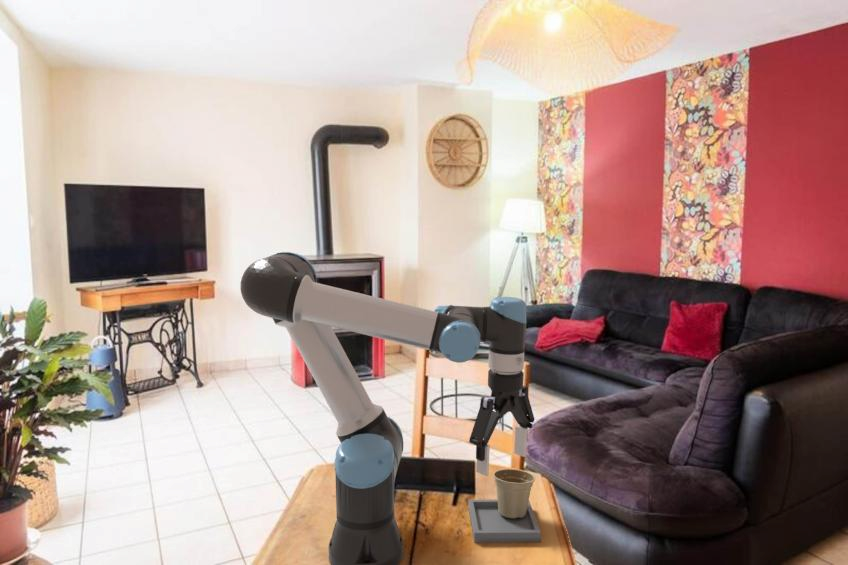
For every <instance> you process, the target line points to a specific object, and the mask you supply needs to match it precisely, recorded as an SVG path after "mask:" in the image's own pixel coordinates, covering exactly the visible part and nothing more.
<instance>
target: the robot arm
mask: <svg viewBox="0 0 848 565" xmlns="http://www.w3.org/2000/svg"><path fill="white" fill-rule="evenodd" d="M317 279H318V278H317V272H316V270H315V267H314V266H313V264H312V263H311V262H310V260H309V259H307V258H306V257H304V256H303V255H301V254H298V253H295V252H290V251H289V252H288V251H285V252H284V251H282V252H277V253H275V254H271V255H270V256H267V257H263V258H260V259H257V260H256V261H254V262H252V263H250V264H249V266H248V267H247V268H246V269H245V270H244V272H243V274H242V276H241V280H240V294H241V298H242V299H243V301H244V303H245V304H246V305H247V307H248V308H250V309H251V310H252V311H253V312H254V313H256V314H259V315H261V316H264V317H267V318H270V319H272V320H273V322H274V323H275V325H276V326H279V327H283V328H284V329H286V330H287V332H288V334H289V336H290V338H291V339H292V341H293V344H294V345H295V347H296V349H297V351H298V352H299V353H300V354H299V355H300V357H301V358H302V359H303V361H304V363H305V366H306V367H307V369H308V371H309V372H310V375H311V376H312V378H313V380H314V381H315V384H316V385H317V387H318V388H319V391H320V392H321V394H322V396H323V398H324V400H325V401H326V404H327V406H328V407H329V409H330V411H331V413H332V414H333V416H334V419H335V420H336V422H337V427H336V430H335V435H336V437H337V439H338V440H339V442H340V444H339V445H338V446H337V449H336V453H335V458H334V464H333V465H334V471H335V507H336V508H335V509H336V520H335V524H334V527H333V530H332V535H331V538H330V539H329V543H328V561H329V564H330V565H399V564H400V563H401V561H402V560H403V557H404V540H403V537H402V535H401V534H400V530H399V526H398V523H397V521H396V517H395V481H396V476H397V472H398V469H399V465H400V462H401V458H402V455H403V453H404V452H403V451H404V437H403V432H402V430H401V428H400V426H399V424H398V423H397V422H396V421H395V420H394V419H393V418H391V417H390V416H388V415H387V413H386V412H385V409H384V408H383V406H382V405H378V404H375V403H373V402H372V400H371V398H370V396H369V395H368V393H367V391H366V388H365V387H364V385H363V383H362V381H361V379H360V378H359V376H358V373H357V371H356V370H355V368H354V366H353V365H352V363H351V361H350V359H349V357H348V356H347V353H346V352H345V349H344V348H343V346H342V344H341V342H340V340H339V338H338V337H337V335H336V333H335V331H334V329H333V328H337V329H340V330H344V331H349V332H353V333H358V334H360V335H366V336H369V337H373V338H377V339H381V340H386V341H389V342H394V343H399V344H402V345H406V346H410V347H414V348H419V349H423V350H428V351H432V352H435V353H439V354H442V355H443V356H444V358H446V359H447V360H448V361H451V362H453V363H457V364H458V363H460V364H461V363H465V362H468V361H470V360H472V359H473V358H474V357H475V356H476V354H477V353H478V352H479V348H480V345H481V343H489V346H488V360H487V361H488V364H487V366H488V368H489V369H488V372H487V373H488V374H487V386H488V388H489V389H490V391H491V393H490V396H489V397H486V396H481V398H480V402H479V410H478V413H477V416H476V419H475V421H474V425H473V427H472V431H471V434H470V437H469V443H470V444H472V445H475V448H476V449H475V459H476V470H475V471H476V473H477V474H481V475H482V476H485V477H487V476H489V474H490V473H489V471H490V450H491V445H490V444H489V441H490V440H491V438H492V435H493V433H494V431H495V428H496V427H497V424H498V422H499V420H500V419H502V418H503V417H504V415H505V414H507V413H509V412H510V413H511V414H512V416H513V418H514V420H515V422H516V423H517V425H515V427H514V429H515V431H514V451H513V452H514V453H513V454H515V455H517V456H520V457H523V458H525V457H527V443H528V442H527V441H528V431H529V430H528V428H529V429H532V428H533V426H534V425H533V424H534V422H535V416H534V412H533V409H532V405H531V402H530V401H531V400H530V398H529V390H528V389H529V388H528V386H526V385H524V379H525V378H524V375H525V374H524V372H523V370H524V369H525V351H526V348H525V347H526V336H527V304H526V302H525V300H523V299H521V298H518V297H512V296H498V297H493V298H491V301H490V304H489V306H467V305H453V304H449V305H438V306H436V307H435V308H434V310H431V309H426V308H422V307H418V306H415V305H411V304H405V303H402V302H397V301H393V300H389V299H386V298H381V297H376V296H373V295H367V294H365V293H360V292H357V291H356V292H355V291H352V290H348V289H345V288H344V289H343V288H340V287H335V286H331V285H328V284H323V283H320V282H317Z"/></svg>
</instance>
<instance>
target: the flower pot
mask: <svg viewBox="0 0 848 565" xmlns="http://www.w3.org/2000/svg"><path fill="white" fill-rule="evenodd" d="M492 476H493V479H494V483H495V486H496V496H497V498H496V499H498V511H499V513H501V515H502V516H504V517H508V518H517V517H520V518H522V517H524V516H525V515H526V512H527V506H528V501H529V502H530V496H531V495H530V494H531V492H532V491H531V490H532V487H533V484H534V482H535V481H536V475H534V474H532V473H531V472H528V471H525V470H521V469H516V468H515V469H514V468H501V469H498V470H495V471H494V472H493V473H492Z"/></svg>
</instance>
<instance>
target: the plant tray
mask: <svg viewBox="0 0 848 565" xmlns="http://www.w3.org/2000/svg"><path fill="white" fill-rule="evenodd" d="M468 508H469V509H468V514H469V518H470V520H469V521H470V524H471V530H472V531H471V533H472V536H473V543H476V544H477V543H486V544H487V543H541V540H542V537H541V535H542V532H541V529H540V526H539V524H538V520H537V518H536V516H535V513H534V510H533V508H532V504H531V503H530V500H529V501H528V506H527V512H526V515H525V516H524V517H522V518H520V517H517V518H508V517H504V516H502V515H501V513H499V511H498V498H496V499H468Z"/></svg>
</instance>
